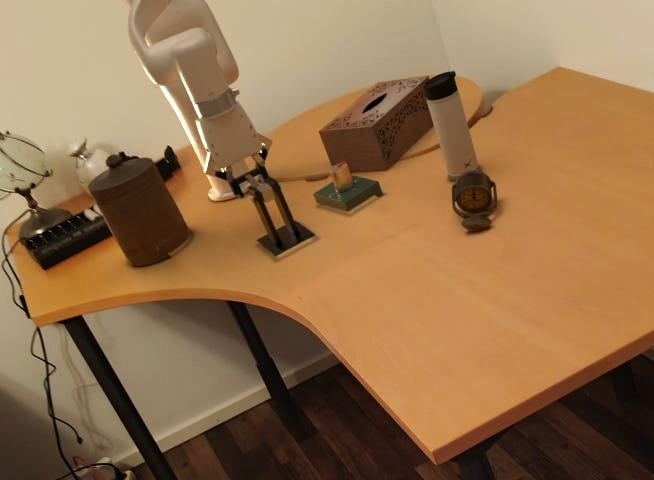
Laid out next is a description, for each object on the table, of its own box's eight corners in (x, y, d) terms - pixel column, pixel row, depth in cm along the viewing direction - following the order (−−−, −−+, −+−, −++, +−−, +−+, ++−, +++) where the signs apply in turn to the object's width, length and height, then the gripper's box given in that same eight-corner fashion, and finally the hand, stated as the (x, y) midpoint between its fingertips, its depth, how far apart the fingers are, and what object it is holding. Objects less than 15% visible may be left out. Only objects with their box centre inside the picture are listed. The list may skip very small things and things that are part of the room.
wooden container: (157, 231, 195) (110, 142, 183) (204, 229, 188) (158, 136, 175) (115, 267, 186) (62, 176, 173) (163, 266, 178) (111, 171, 166)
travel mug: (479, 177, 166) (452, 78, 155) (447, 183, 168) (418, 86, 157) (483, 163, 171) (457, 66, 160) (451, 170, 173) (423, 74, 162)
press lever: (237, 186, 171) (232, 175, 169) (259, 175, 172) (254, 164, 170) (259, 206, 162) (254, 195, 160) (282, 194, 163) (277, 183, 162)
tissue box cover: (386, 170, 184) (371, 126, 178) (334, 173, 191) (318, 131, 186) (440, 117, 199) (428, 75, 194) (390, 121, 207) (377, 82, 202)
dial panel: (318, 206, 179) (312, 192, 177) (350, 186, 182) (345, 172, 181) (349, 215, 170) (344, 201, 168) (383, 194, 174) (378, 180, 172)
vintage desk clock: (511, 168, 152) (459, 161, 155) (486, 197, 143) (431, 189, 146) (511, 205, 156) (460, 198, 160) (486, 236, 147) (433, 227, 151)
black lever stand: (258, 244, 172) (232, 188, 165) (297, 224, 174) (272, 168, 167) (277, 260, 164) (250, 201, 156) (317, 239, 166) (292, 180, 159)
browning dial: (343, 193, 172) (335, 171, 170) (332, 190, 175) (324, 169, 172) (358, 183, 174) (350, 162, 171) (347, 181, 177) (339, 160, 174)
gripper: (248, 83, 166) (284, 168, 177) (169, 120, 162) (210, 205, 172) (260, 88, 160) (296, 175, 171) (179, 126, 156) (221, 213, 166)
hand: (253, 189), depth 171 cm, fingers closed on press lever, 5 cm apart
